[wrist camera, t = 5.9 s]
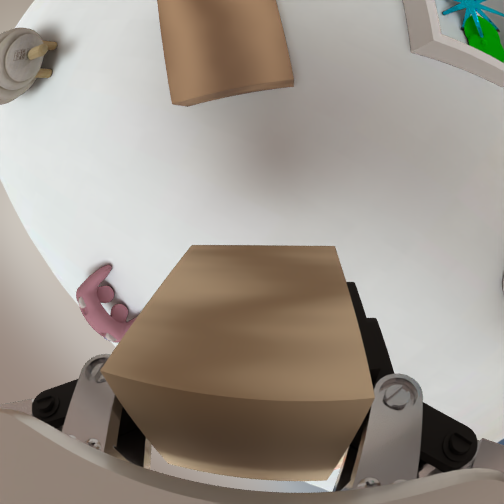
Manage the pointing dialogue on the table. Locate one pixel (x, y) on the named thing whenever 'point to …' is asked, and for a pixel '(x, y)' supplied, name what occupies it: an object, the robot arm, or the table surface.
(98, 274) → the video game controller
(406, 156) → the table surface
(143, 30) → the table surface
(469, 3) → the green blue spiky piece
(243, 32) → the base block
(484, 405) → the table surface
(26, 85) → the toy sheep
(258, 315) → the oak block
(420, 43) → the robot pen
